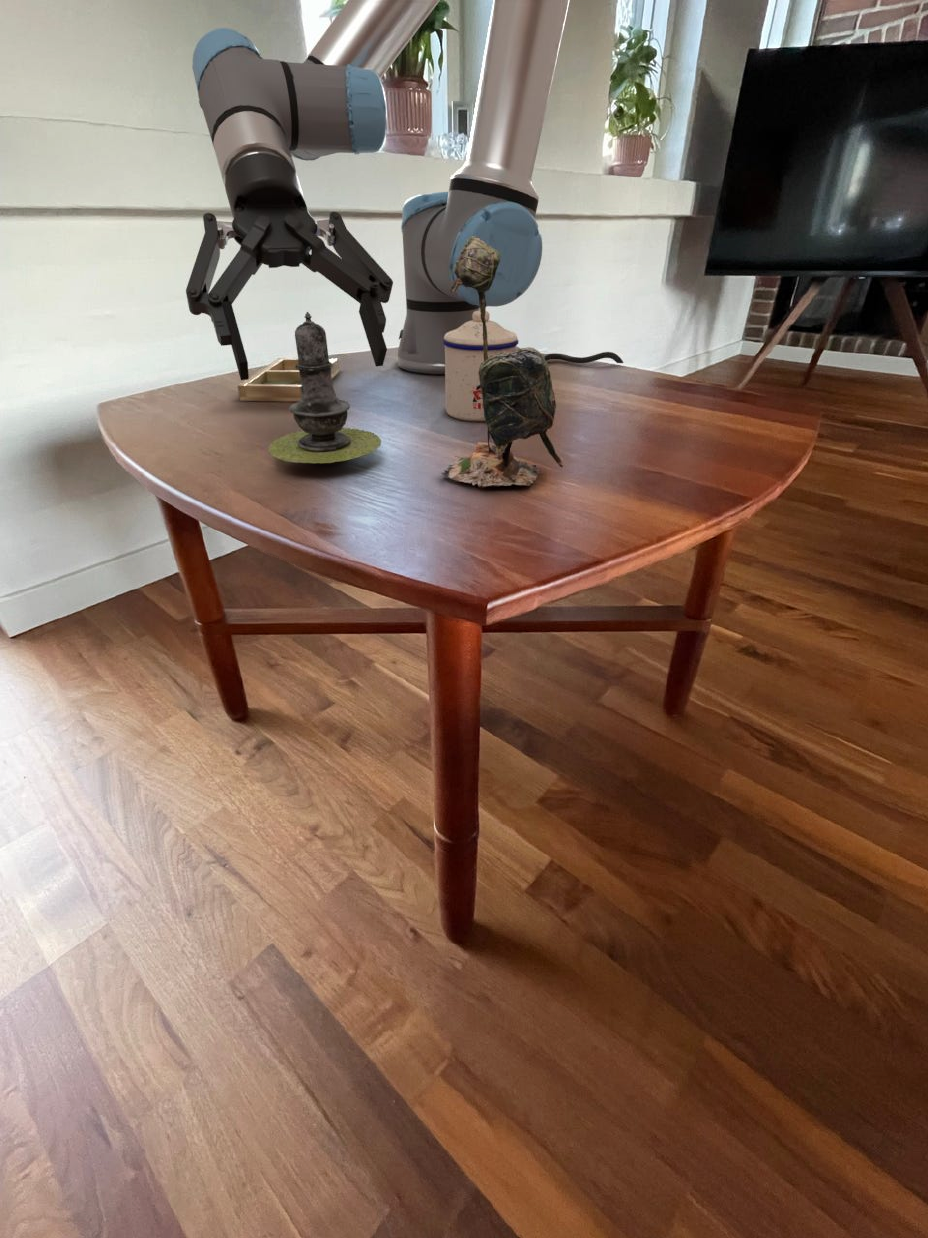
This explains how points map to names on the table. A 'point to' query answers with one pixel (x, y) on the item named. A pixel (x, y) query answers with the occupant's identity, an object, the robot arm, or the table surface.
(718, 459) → the table surface
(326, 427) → the salt shaker
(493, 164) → the robot arm
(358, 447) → the mat
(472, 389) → the teacup with lid
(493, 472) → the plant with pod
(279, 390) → the wooden divided tray
